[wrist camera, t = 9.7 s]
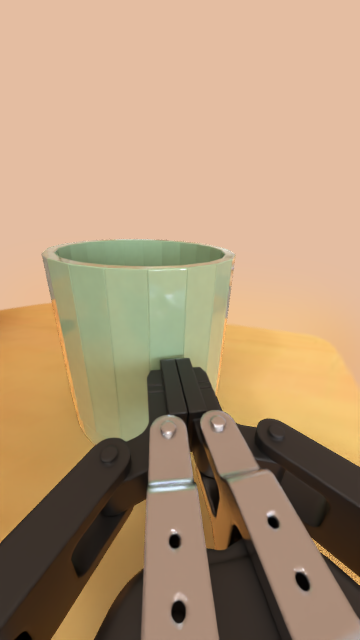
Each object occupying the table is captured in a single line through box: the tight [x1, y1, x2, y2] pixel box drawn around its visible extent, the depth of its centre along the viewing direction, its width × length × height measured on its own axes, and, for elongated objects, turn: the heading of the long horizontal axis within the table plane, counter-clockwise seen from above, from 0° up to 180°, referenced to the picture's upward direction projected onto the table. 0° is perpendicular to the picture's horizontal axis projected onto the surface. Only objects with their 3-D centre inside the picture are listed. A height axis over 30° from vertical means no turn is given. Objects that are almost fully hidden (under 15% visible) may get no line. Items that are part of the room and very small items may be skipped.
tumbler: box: [42, 239, 235, 445], centre depth 17 cm, size 11×11×12 cm
